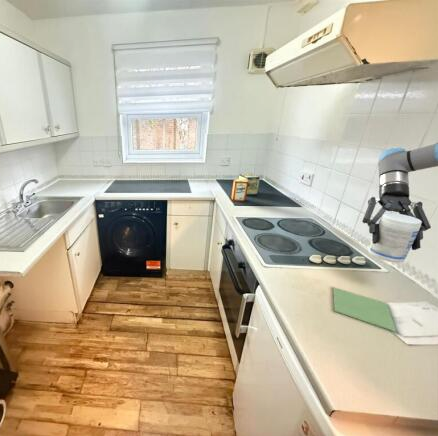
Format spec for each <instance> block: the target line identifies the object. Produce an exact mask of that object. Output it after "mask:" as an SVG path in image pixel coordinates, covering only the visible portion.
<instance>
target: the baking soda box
mask: <svg viewBox="0 0 438 436" xmlns="http://www.w3.org/2000/svg"><path fill="white" fill-rule="evenodd" d="M247 188H248V181H247V180H241V179H239V178H235V179H233V183H232V188H231V189H232V190H231V196H230V200H231V201H232V202H246V199H247V196H246V194H247Z"/></svg>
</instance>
